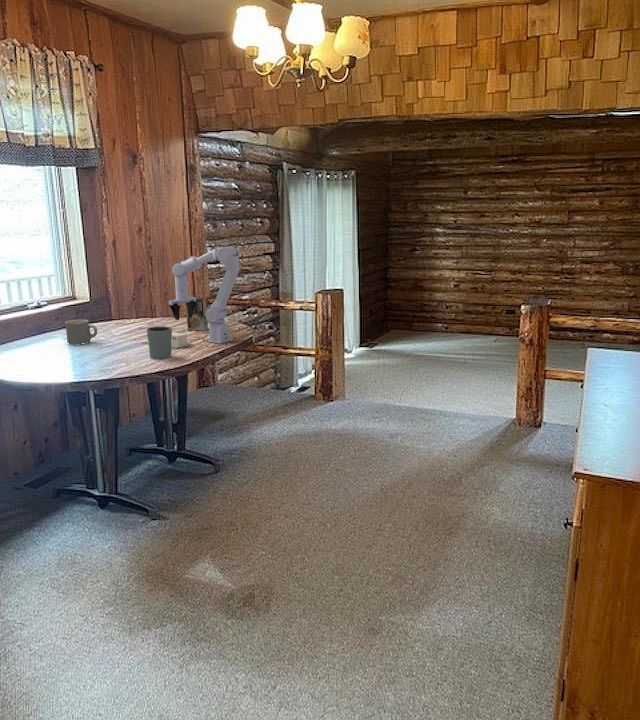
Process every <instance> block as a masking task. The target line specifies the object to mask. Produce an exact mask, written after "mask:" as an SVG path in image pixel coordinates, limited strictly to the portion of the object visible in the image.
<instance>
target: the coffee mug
mask: <svg viewBox="0 0 640 720" xmlns="http://www.w3.org/2000/svg"><path fill="white" fill-rule="evenodd" d="M89 323H90V322H89V320H88V319H73V320H72V319H71V320H67V321H65V332H66V340H67V342H66V343H67V344H68V343H69V344H82V343H87V342H90V343H91V339H94V338H95V337H96V336H97V335H98V329H97V326H96V325H94V324H89ZM91 329H93V331H94V332H93V333H91V331H90V330H91ZM69 344H68V345H69ZM82 345H83V344H82Z"/></svg>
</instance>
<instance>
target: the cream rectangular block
mask: <svg viewBox="0 0 640 720" xmlns="http://www.w3.org/2000/svg"><path fill="white" fill-rule="evenodd" d="M187 343H188V336H187V334H186V333H181V332H174V331H172V340H171V346H174V347H182V346H187Z"/></svg>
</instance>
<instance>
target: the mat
mask: <svg viewBox="0 0 640 720" xmlns="http://www.w3.org/2000/svg"><path fill="white" fill-rule="evenodd" d="M140 343H141V344H143V343H146V344H145V345H149V342H148V340H146V341H141V342H140ZM191 345H193V346H194V344H193V343H188V342H187V346H188V347H191ZM187 346H182V347H184V348H187ZM182 347H174V346H171V350H179V349H183V348H182ZM178 348H179V349H178Z"/></svg>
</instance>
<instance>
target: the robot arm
mask: <svg viewBox="0 0 640 720" xmlns="http://www.w3.org/2000/svg"><path fill="white" fill-rule="evenodd" d="M213 260H219V262H220V263H221V264H222V265H223V267H225V270H226V271H225V273H224V275H223V279H222V281H221V284H220V287H219V289H218V292H217V294H216V298H215V300H214V301H213V303H212V304H211V305H210V306H209V309H207V312H206V319H207V321H208V330H209V339H206V340H205V342H207V341H208V342H207V343H213V342H214V343H213V344H219V345H220V344H223V343H224V344H225V343H228V342H232V341H233V340H232V339H231V327H230V325H229V324H227V323H226V322H225V321H226V320H225V319H226V317H227V316H228V315H227V314H228V312H227V311H228V305H227V303H228V300H229V298H230V296H231V293H232V290H233V288H234V285H235V282H236V281H237V280H236V279H237V277H238V275H239V272H240V253H239V251H238V249H237V247H236V246H234V245H229V246H221V247H219V248H215V249H212V250H210V251H208V252H206V253H205V254H202V255H201V256H199V257H198V256H193V255H191V256H189V258H188V259H186V260H181V261H180V263H175V264H174V265H173V266H172V268H171V272H172V274H173V276H174V282H175V283H174V284H175V285H174V286H175V299H171V300H168V305H169V309H170V310H171V311H172V313H173V316H174V319H175V321H179V320H180V311H181V310H180V309H181V305H180V304H185V306H186V307H187V310H186V314H187V313H188V317H189V318H192V315H193V310H194V308H195V306H196V298H197V297H195V296H192V297H190V295H189V279H188V278H189V277H188V275H189V274H190V273H192V272H194V271H196V270H198V269H200V268H201V267H202V264H205V263H208V262H210V261H213ZM186 307H185V308H186Z"/></svg>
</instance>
